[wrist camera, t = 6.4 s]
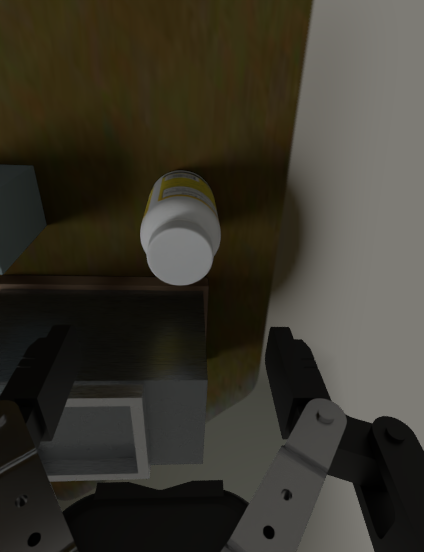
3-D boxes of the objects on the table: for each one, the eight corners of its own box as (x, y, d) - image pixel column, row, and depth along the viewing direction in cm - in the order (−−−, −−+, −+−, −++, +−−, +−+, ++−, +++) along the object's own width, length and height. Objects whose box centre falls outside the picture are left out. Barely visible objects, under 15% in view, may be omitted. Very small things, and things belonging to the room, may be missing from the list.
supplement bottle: (179, 242, 31) (174, 309, 22) (136, 196, 28) (113, 253, 20) (227, 205, 29) (242, 263, 21) (186, 154, 27) (183, 196, 18)
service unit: (30, 360, 37) (-40, 488, 26) (2, 275, 31) (-103, 392, 20) (203, 360, 39) (209, 482, 27) (208, 277, 33) (216, 389, 22)
